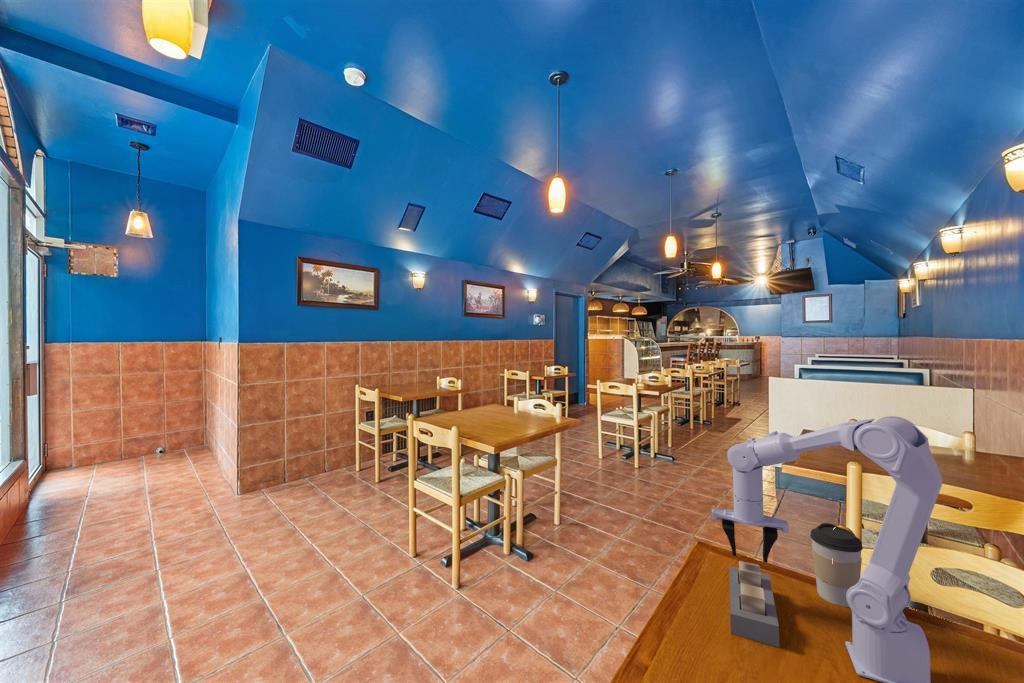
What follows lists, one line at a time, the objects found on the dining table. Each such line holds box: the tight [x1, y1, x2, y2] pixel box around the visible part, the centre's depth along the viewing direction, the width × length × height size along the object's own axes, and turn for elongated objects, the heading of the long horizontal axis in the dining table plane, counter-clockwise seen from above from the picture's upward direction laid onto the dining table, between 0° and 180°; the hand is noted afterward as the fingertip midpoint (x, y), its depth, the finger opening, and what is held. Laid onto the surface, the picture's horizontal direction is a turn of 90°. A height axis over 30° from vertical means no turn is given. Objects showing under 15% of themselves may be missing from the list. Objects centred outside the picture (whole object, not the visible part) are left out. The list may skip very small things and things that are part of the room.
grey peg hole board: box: [729, 565, 780, 648], centre depth 84 cm, size 8×18×4 cm, turn 152°
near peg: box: [741, 583, 765, 616], centre depth 80 cm, size 4×4×4 cm
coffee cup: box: [809, 522, 864, 608], centre depth 88 cm, size 9×9×15 cm
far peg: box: [738, 560, 762, 588], centre depth 88 cm, size 4×4×4 cm
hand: (749, 556), depth 88 cm, fingers open, 5 cm apart
